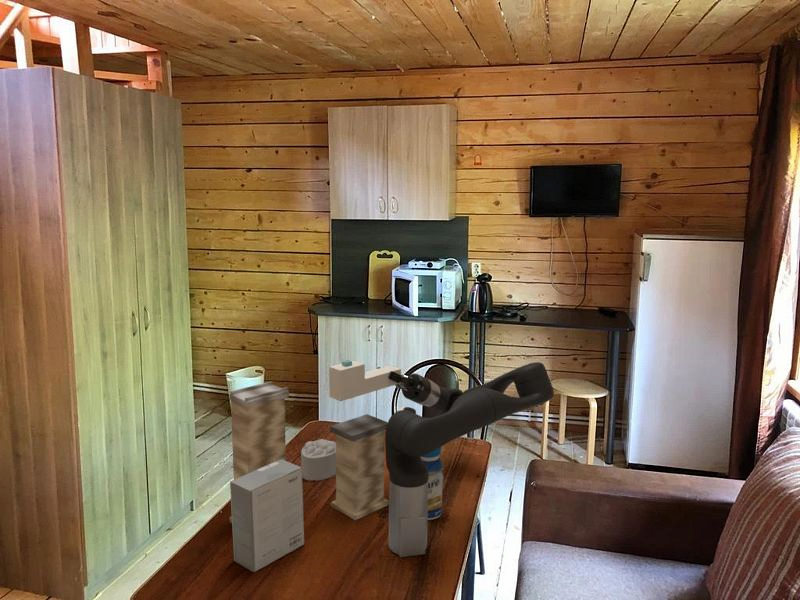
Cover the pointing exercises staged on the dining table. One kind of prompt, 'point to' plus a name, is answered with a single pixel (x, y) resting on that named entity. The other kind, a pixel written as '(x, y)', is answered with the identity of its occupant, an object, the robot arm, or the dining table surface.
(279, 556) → the hard drive box
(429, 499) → the beverage bottle
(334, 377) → the breaker module
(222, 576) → the dining table surface
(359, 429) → the lower stand
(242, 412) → the stand
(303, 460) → the lumpy-topped squat cylinder
